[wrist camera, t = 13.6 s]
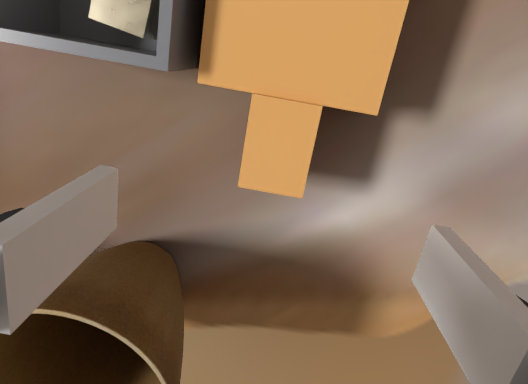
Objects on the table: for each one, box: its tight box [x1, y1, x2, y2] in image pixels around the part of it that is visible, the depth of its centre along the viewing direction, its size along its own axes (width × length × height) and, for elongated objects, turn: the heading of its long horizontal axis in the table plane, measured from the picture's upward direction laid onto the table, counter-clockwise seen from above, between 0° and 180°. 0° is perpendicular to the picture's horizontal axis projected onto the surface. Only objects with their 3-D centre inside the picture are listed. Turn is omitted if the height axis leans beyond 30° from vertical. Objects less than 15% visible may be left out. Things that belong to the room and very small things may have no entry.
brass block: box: [88, 0, 160, 40], centre depth 27 cm, size 4×4×4 cm
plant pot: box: [0, 241, 184, 384], centre depth 31 cm, size 15×15×16 cm
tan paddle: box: [197, 0, 409, 198], centre depth 26 cm, size 22×13×3 cm, turn 170°
